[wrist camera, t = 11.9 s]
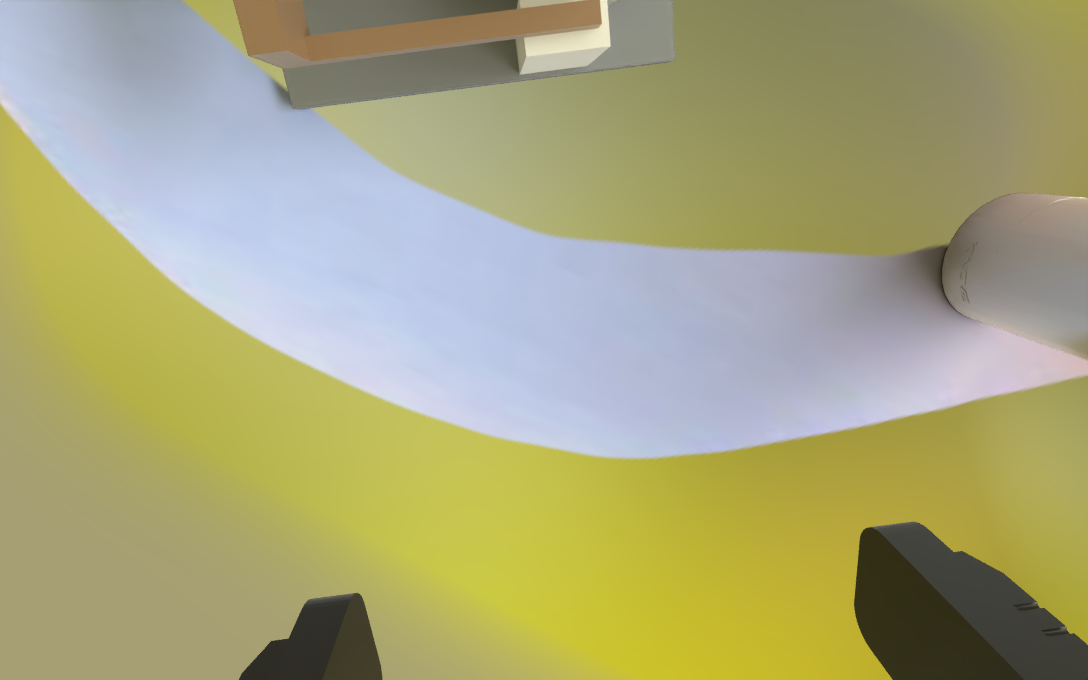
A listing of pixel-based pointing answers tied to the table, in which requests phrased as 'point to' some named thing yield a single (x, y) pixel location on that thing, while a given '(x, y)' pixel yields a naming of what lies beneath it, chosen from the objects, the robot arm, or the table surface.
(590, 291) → the table surface
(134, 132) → the table surface
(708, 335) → the table surface
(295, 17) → the brown u-shaped frame
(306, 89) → the bracket-mounted cylinder
